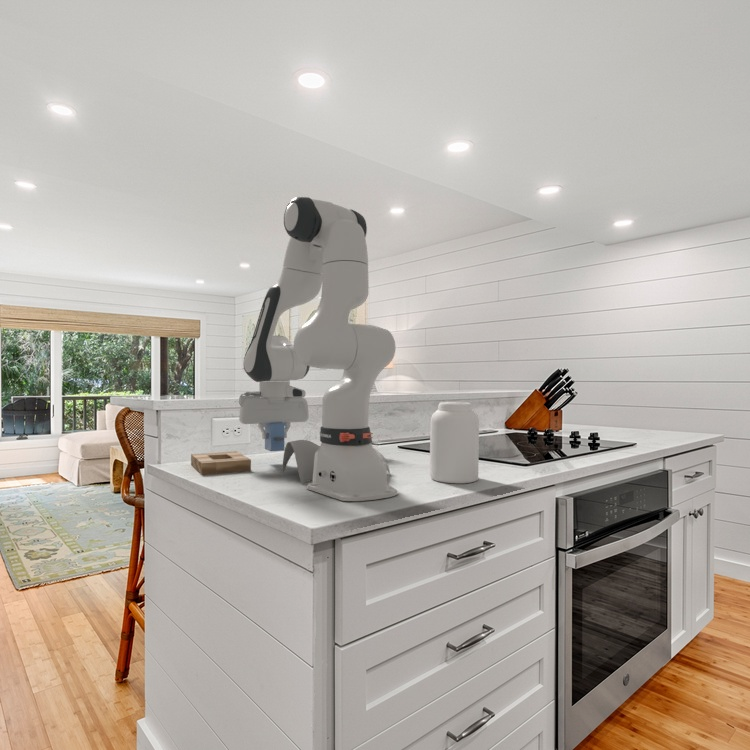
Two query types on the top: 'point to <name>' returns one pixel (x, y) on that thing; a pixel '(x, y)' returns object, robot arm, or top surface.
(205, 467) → the wooden base block
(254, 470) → the top surface
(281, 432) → the block
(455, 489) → the top surface
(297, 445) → the sculpture
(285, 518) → the top surface
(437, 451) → the white lidded jar
